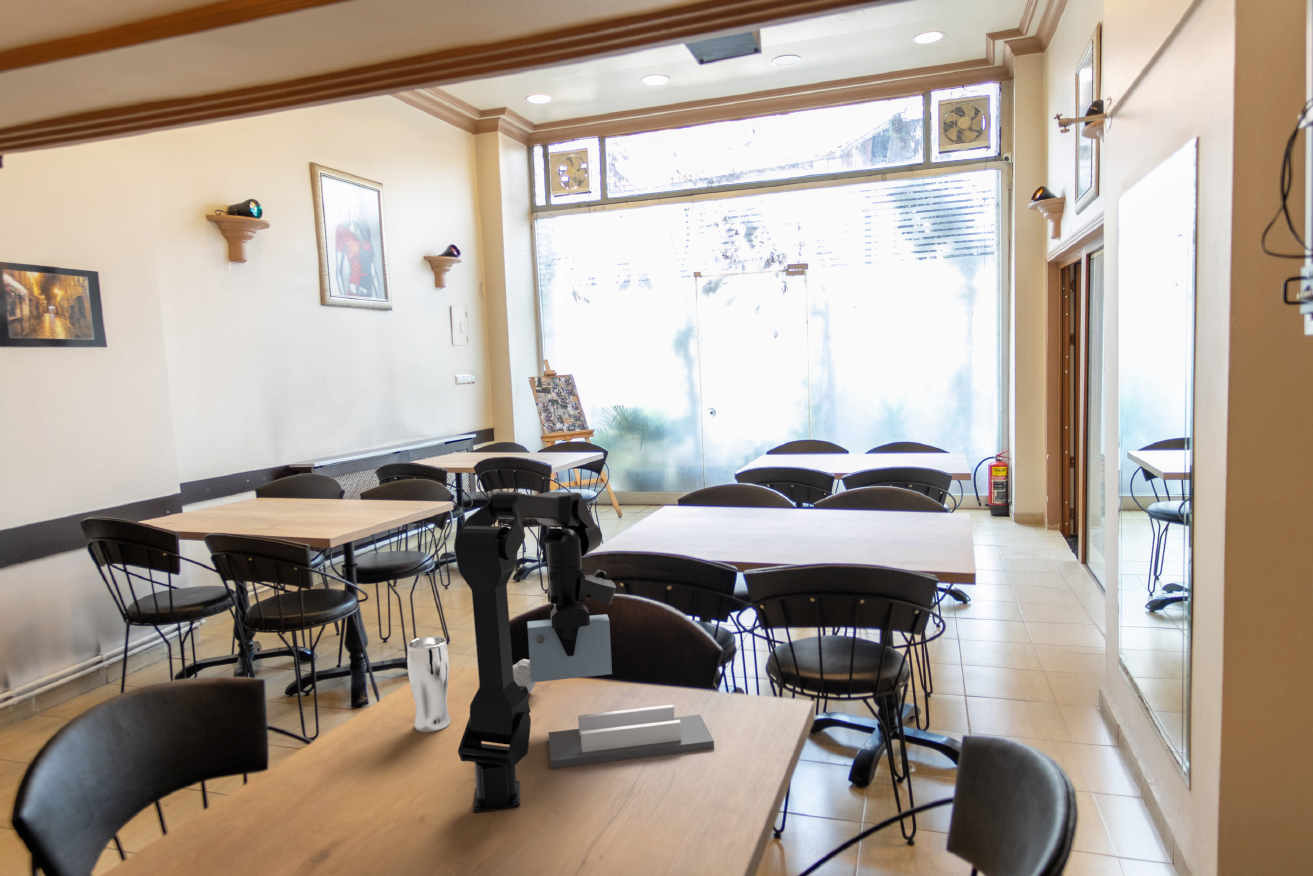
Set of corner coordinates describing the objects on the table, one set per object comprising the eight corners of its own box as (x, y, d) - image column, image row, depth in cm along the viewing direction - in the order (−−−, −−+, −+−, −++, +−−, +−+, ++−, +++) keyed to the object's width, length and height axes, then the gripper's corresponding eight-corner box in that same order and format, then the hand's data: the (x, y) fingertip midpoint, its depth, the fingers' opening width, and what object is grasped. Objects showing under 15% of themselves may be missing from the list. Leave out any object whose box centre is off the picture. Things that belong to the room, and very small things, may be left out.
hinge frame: (714, 748, 129) (713, 722, 128) (551, 768, 124) (549, 742, 124) (700, 721, 138) (699, 697, 138) (548, 739, 134) (547, 715, 134)
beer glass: (441, 734, 138) (435, 649, 136) (404, 732, 139) (398, 648, 138) (459, 717, 144) (454, 636, 143) (424, 715, 146) (418, 635, 144)
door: (612, 675, 139) (609, 621, 138) (530, 684, 137) (527, 629, 136) (609, 666, 143) (607, 614, 142) (530, 675, 141) (527, 621, 140)
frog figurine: (527, 704, 149) (525, 667, 148) (499, 697, 152) (497, 661, 152) (548, 692, 154) (546, 656, 153) (520, 685, 158) (518, 651, 157)
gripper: (618, 573, 131) (622, 666, 132) (605, 549, 149) (609, 630, 150) (549, 579, 129) (554, 673, 130) (545, 553, 147) (549, 636, 149)
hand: (569, 652), depth 140 cm, fingers closed on door, 4 cm apart
